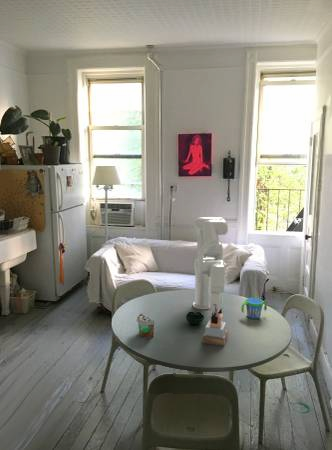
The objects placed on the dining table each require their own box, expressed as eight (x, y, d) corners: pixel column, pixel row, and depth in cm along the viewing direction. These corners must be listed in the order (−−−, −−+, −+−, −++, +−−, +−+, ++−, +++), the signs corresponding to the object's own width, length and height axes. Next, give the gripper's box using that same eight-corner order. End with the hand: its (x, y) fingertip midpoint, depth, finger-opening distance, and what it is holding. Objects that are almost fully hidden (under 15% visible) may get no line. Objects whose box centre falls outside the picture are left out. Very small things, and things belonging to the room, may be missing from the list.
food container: (132, 332, 211) (132, 315, 209) (142, 329, 215) (141, 312, 213) (145, 341, 202) (144, 323, 200) (154, 338, 205) (154, 320, 203)
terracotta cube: (212, 322, 205) (212, 312, 204) (222, 323, 203) (222, 313, 202) (209, 326, 199) (210, 316, 198) (220, 327, 198) (220, 317, 197)
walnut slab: (207, 334, 211) (207, 326, 210) (227, 337, 207) (227, 329, 206) (202, 343, 200) (203, 335, 200) (224, 346, 197) (224, 338, 196)
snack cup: (262, 312, 238) (263, 296, 236) (269, 319, 228) (270, 303, 226) (238, 313, 236) (238, 298, 234) (244, 321, 226) (244, 304, 224)
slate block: (209, 327, 208) (209, 320, 207) (225, 330, 205) (226, 322, 204) (205, 335, 200) (205, 327, 199) (222, 337, 197) (222, 329, 196)
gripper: (213, 281, 206) (212, 312, 209) (206, 292, 190) (205, 325, 193) (227, 283, 204) (226, 314, 207) (221, 294, 188) (220, 327, 191)
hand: (216, 319), depth 200 cm, fingers open, 9 cm apart
